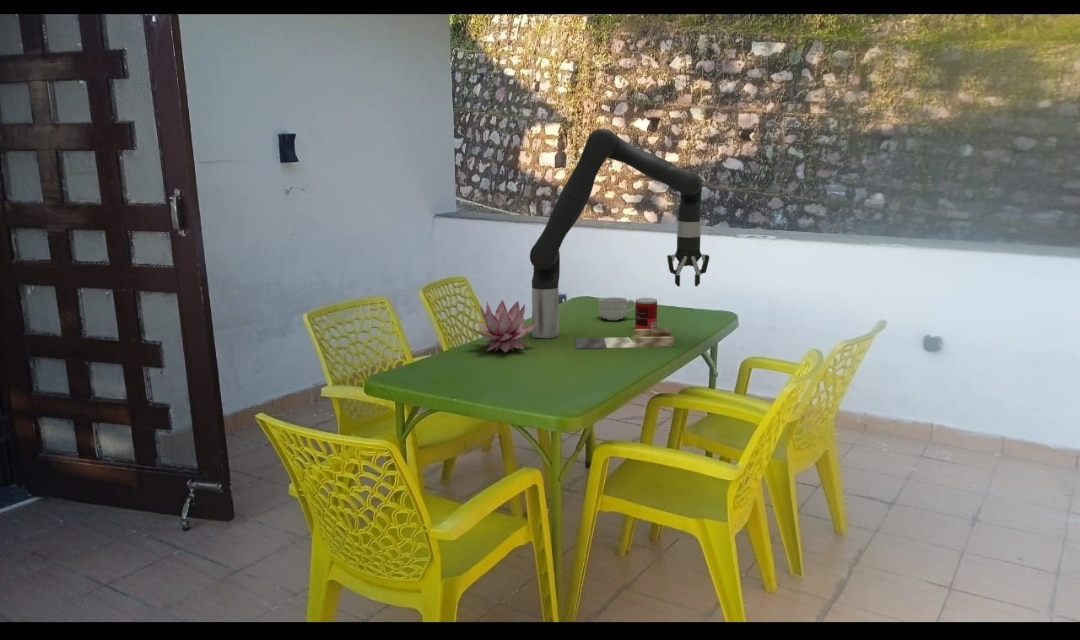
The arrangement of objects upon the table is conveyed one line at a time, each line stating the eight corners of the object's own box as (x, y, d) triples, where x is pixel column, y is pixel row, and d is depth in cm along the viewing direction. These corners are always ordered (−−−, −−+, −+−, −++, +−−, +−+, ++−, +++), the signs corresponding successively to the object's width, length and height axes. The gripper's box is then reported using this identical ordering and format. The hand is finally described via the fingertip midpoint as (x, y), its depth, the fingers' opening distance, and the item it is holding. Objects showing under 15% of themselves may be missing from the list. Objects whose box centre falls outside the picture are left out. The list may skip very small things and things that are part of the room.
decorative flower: (528, 359, 255) (527, 312, 251) (463, 356, 259) (461, 310, 255) (541, 342, 275) (541, 298, 272) (481, 339, 279) (479, 297, 276)
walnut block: (652, 344, 269) (652, 332, 268) (650, 339, 275) (650, 328, 274) (670, 344, 269) (670, 332, 268) (667, 339, 275) (668, 328, 274)
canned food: (656, 327, 294) (656, 297, 292) (657, 332, 286) (657, 302, 284) (634, 327, 295) (635, 297, 292) (635, 332, 287) (635, 302, 285)
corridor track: (576, 349, 266) (576, 339, 265) (574, 339, 278) (574, 329, 278) (673, 348, 266) (674, 337, 265) (667, 338, 278) (668, 328, 278)
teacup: (595, 321, 304) (595, 300, 302) (601, 315, 314) (601, 295, 312) (632, 323, 300) (632, 302, 298) (637, 317, 310) (637, 296, 308)
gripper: (668, 236, 260) (667, 288, 264) (713, 236, 260) (711, 287, 264) (665, 233, 267) (663, 284, 271) (708, 233, 267) (706, 283, 271)
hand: (687, 285), depth 268 cm, fingers open, 5 cm apart
